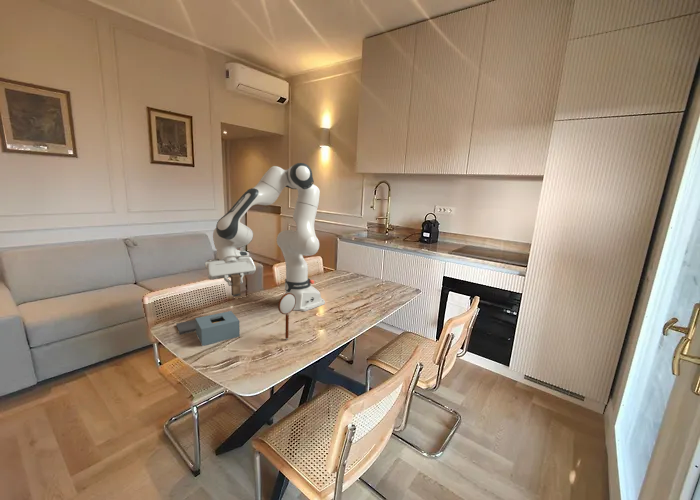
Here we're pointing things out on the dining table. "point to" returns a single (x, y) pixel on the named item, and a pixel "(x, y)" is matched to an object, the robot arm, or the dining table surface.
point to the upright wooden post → (235, 285)
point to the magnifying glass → (287, 308)
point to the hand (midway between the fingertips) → (236, 284)
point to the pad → (186, 326)
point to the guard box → (217, 327)
